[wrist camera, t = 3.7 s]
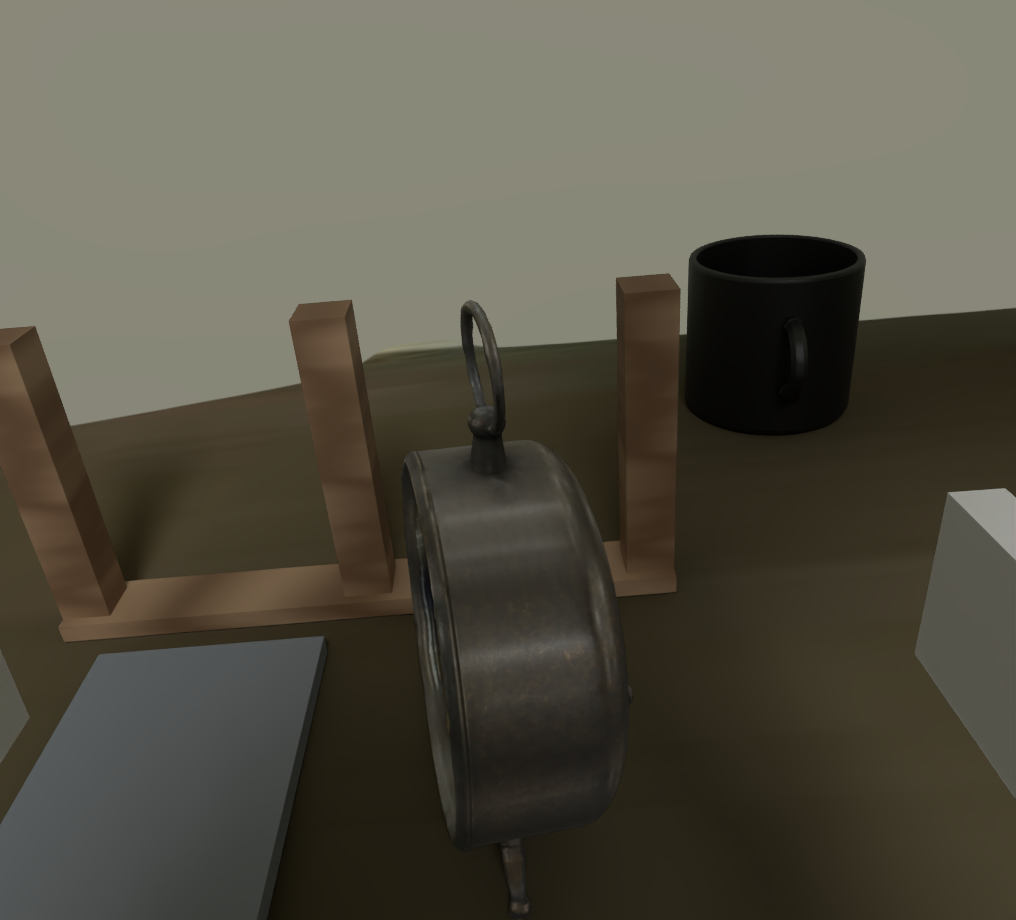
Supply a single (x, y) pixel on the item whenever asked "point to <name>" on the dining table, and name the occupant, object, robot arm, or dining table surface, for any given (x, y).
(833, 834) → the dining table surface
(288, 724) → the pad
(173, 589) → the slalom posts
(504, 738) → the alarm clock
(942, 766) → the dining table surface
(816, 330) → the mug
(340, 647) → the dining table surface
